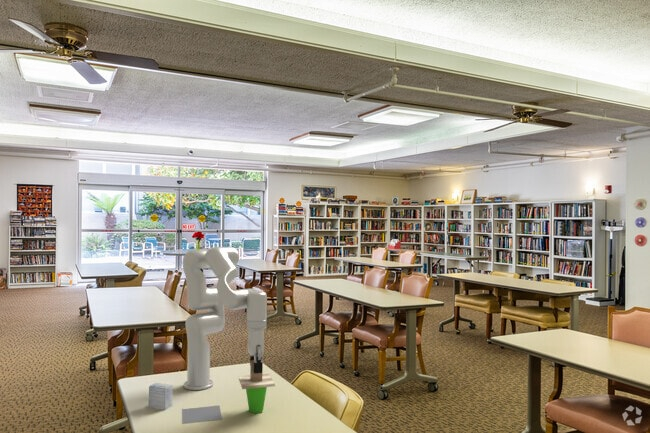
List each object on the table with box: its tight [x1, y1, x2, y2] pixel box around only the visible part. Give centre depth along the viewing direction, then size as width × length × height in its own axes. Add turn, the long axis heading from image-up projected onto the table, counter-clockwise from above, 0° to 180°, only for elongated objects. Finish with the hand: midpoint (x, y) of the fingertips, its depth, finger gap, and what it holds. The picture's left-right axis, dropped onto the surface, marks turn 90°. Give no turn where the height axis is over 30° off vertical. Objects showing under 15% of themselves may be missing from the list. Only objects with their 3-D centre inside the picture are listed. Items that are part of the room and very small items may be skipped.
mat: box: [181, 405, 223, 425], centre depth 179 cm, size 14×14×1 cm
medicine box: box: [148, 382, 173, 411], centre depth 187 cm, size 8×4×9 cm, turn 71°
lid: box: [238, 360, 276, 390], centre depth 183 cm, size 12×12×8 cm
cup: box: [245, 387, 268, 414], centre depth 183 cm, size 9×9×11 cm
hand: (256, 369), depth 184 cm, fingers open, 9 cm apart
